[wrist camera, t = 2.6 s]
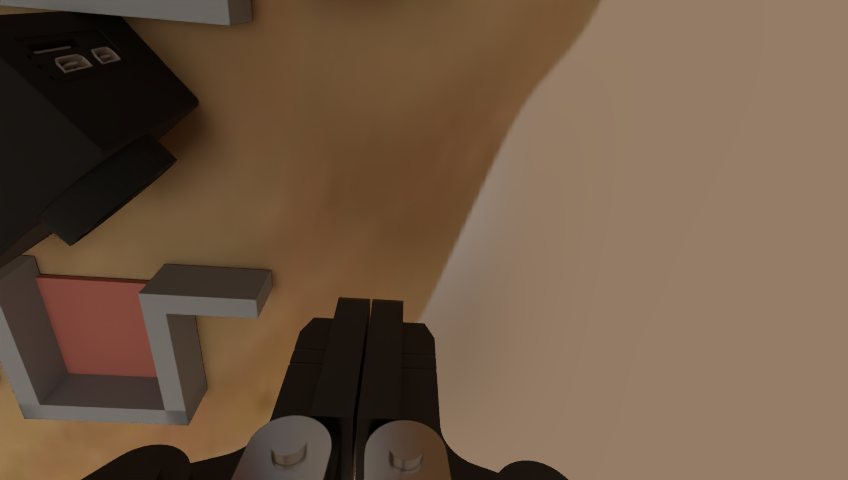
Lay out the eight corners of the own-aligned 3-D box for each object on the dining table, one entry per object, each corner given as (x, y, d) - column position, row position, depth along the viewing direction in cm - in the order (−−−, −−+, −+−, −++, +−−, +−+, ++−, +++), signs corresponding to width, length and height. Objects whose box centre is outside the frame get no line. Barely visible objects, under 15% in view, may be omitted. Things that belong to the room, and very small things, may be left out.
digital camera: (70, 254, 23) (-60, 354, 16) (-41, 166, 21) (-237, 242, 14) (223, 125, 20) (137, 185, 14) (114, 8, 18) (-45, 17, 12)
